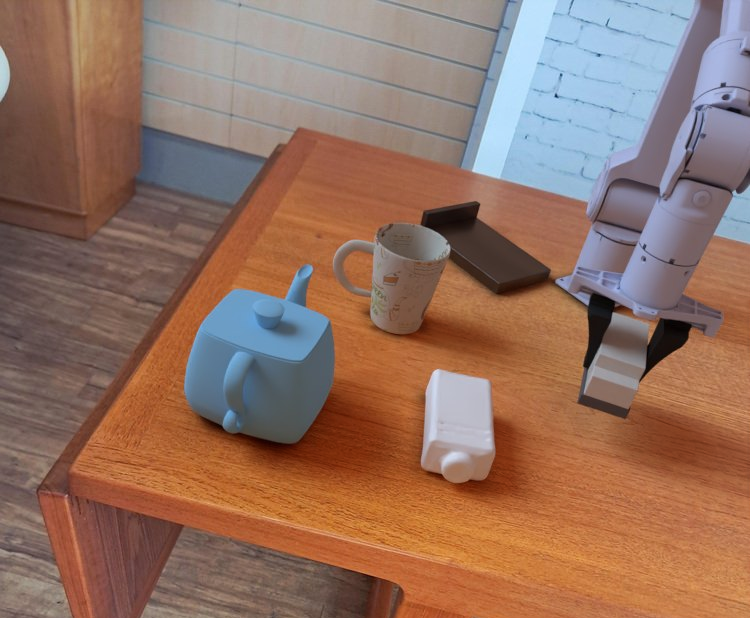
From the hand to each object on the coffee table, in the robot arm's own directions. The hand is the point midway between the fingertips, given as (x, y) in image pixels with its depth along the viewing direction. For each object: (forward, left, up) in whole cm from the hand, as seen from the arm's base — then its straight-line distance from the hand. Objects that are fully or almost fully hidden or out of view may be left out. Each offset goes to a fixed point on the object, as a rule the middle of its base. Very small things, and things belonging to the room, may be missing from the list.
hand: (610, 370), depth 81 cm
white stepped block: (0, 0, -1) cm, 1 cm away
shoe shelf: (-13, -31, -6) cm, 34 cm away
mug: (+10, -25, -6) cm, 28 cm away
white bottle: (+17, -4, -6) cm, 19 cm away
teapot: (+31, -17, -6) cm, 36 cm away
